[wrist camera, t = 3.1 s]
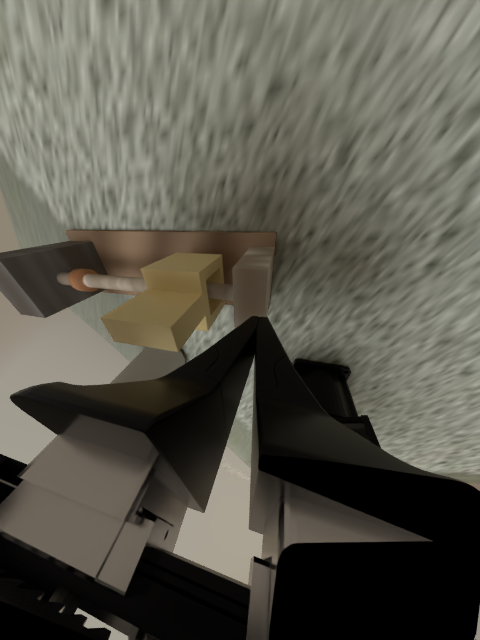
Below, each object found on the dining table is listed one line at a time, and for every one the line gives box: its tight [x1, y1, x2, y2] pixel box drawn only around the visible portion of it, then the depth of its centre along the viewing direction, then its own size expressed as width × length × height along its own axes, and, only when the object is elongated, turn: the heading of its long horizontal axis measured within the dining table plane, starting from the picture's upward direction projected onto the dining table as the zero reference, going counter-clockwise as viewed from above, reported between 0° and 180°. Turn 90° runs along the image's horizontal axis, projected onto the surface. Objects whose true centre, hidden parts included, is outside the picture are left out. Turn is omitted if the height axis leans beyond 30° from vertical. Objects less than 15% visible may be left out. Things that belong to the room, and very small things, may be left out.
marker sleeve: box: [101, 253, 226, 352], centre depth 12 cm, size 4×4×8 cm
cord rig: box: [0, 230, 276, 328], centre depth 15 cm, size 22×7×8 cm, turn 91°
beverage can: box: [110, 347, 185, 384], centre depth 22 cm, size 6×6×12 cm
